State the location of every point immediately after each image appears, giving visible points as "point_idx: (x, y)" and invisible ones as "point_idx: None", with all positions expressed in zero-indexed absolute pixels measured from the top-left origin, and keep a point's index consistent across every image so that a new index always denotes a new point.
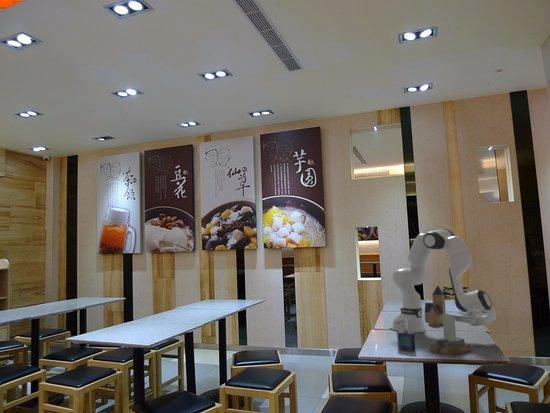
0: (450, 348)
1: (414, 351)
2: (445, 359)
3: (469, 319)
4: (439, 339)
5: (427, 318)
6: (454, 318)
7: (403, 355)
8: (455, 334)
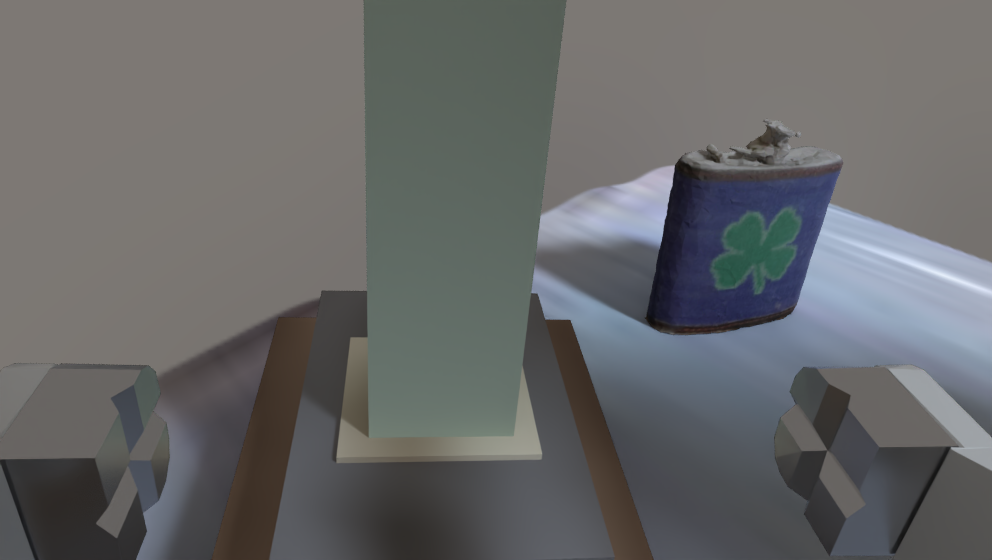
0: (312, 329)
1: (647, 316)
2: (296, 307)
3: (79, 438)
4: (527, 322)
5: None
6: (839, 443)
7: (591, 235)
8: (369, 369)
